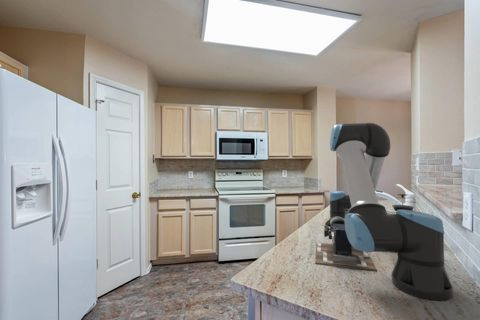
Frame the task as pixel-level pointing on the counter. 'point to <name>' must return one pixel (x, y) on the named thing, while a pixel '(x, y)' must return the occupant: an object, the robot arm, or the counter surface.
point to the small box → (341, 241)
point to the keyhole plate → (343, 258)
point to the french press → (402, 207)
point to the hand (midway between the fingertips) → (342, 240)
